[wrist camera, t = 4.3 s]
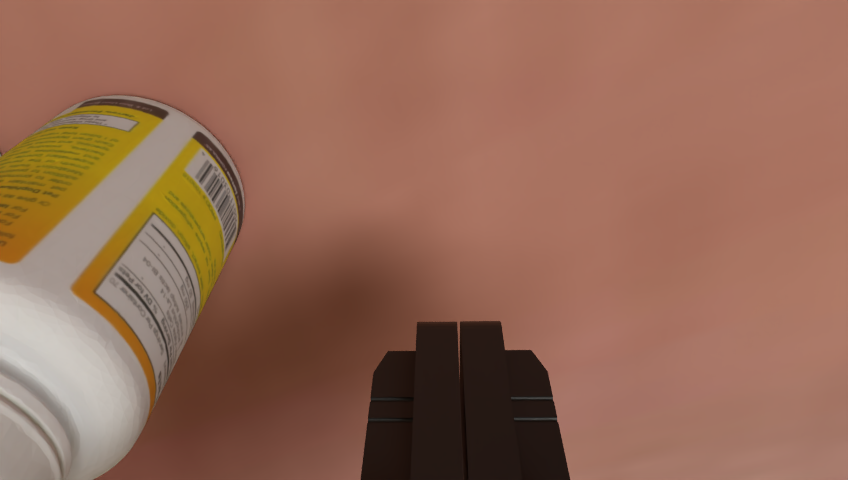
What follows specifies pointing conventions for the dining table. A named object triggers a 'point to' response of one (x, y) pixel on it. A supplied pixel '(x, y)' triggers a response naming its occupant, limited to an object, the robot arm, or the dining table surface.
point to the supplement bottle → (103, 276)
